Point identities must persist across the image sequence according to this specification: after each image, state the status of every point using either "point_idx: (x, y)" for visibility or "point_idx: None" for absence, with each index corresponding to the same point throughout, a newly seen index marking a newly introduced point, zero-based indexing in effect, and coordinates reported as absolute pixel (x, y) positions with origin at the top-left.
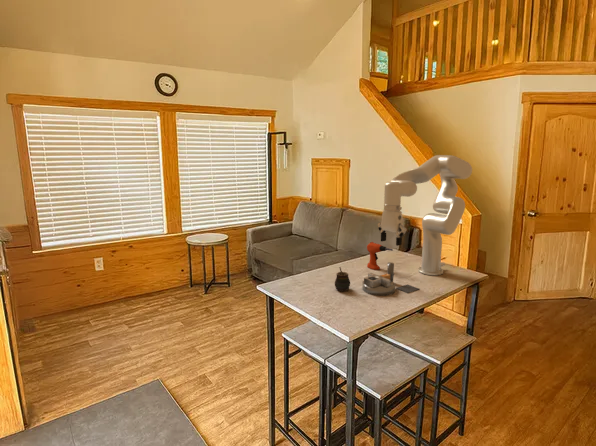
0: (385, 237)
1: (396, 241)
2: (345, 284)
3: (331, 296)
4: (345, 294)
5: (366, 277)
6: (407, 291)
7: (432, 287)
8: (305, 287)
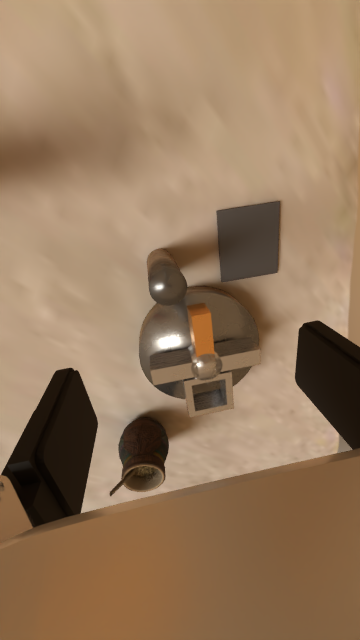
0: (69, 408)
1: (330, 414)
2: (168, 449)
3: (174, 463)
4: (180, 433)
5: (189, 408)
6: (270, 267)
7: (297, 117)
8: (88, 494)
